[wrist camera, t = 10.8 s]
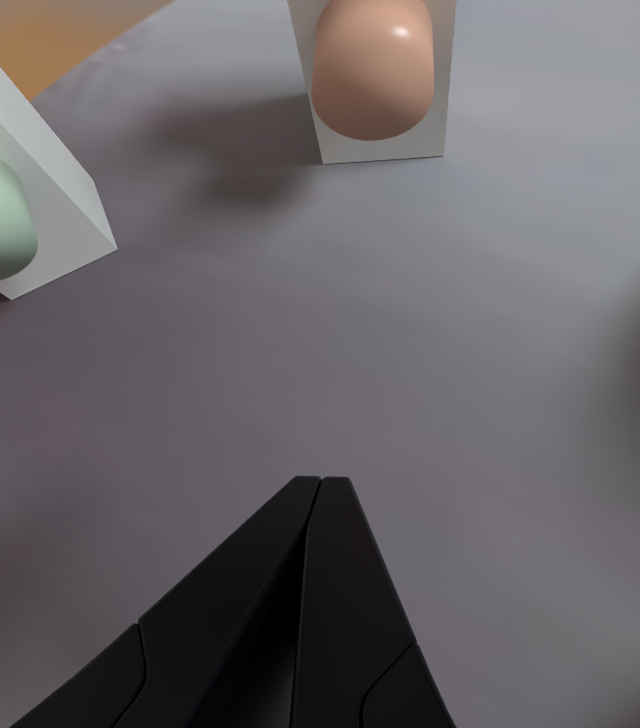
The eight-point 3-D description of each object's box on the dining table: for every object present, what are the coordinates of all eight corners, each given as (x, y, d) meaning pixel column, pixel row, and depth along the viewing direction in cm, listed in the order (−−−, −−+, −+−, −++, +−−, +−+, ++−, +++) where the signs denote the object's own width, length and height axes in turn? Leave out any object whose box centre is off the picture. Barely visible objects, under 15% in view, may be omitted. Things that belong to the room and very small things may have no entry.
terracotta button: (431, 136, 21) (437, 34, 17) (321, 144, 22) (300, 48, 18) (428, 16, 23) (432, -99, 19) (328, 28, 24) (311, -82, 20)
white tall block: (443, 155, 27) (462, -80, 17) (323, 164, 28) (275, -55, 18) (440, 78, 28) (456, -176, 19) (327, 89, 29) (285, -148, 20)
